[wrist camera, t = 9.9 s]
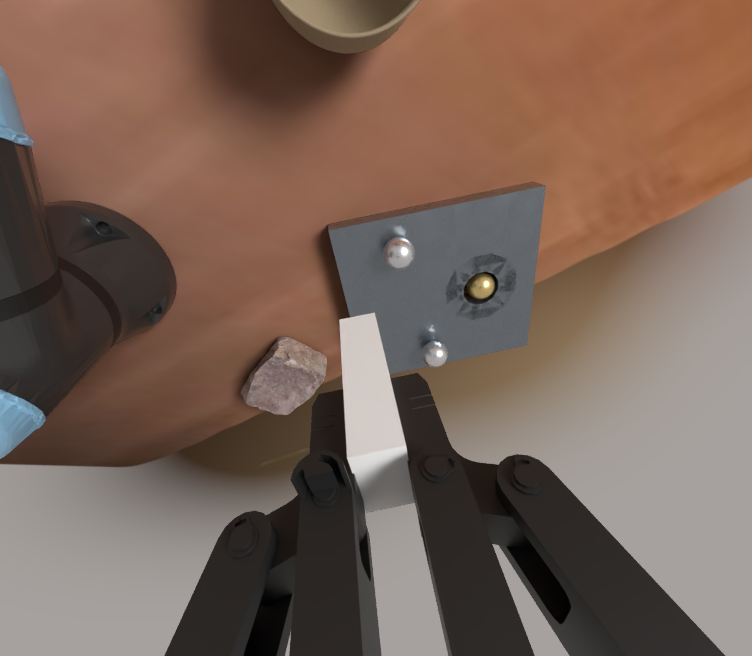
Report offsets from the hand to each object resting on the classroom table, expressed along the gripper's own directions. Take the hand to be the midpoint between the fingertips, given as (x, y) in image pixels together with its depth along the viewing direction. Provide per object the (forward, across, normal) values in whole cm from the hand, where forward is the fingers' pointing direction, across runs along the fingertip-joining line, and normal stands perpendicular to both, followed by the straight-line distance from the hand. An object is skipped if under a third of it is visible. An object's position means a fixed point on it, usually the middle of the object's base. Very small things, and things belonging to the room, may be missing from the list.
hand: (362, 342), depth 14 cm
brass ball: (+25, +15, -13) cm, 32 cm away
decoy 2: (+22, +8, -20) cm, 31 cm away
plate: (+26, +10, -13) cm, 31 cm away
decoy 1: (+22, +5, -5) cm, 23 cm away
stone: (+27, -13, -21) cm, 37 cm away
